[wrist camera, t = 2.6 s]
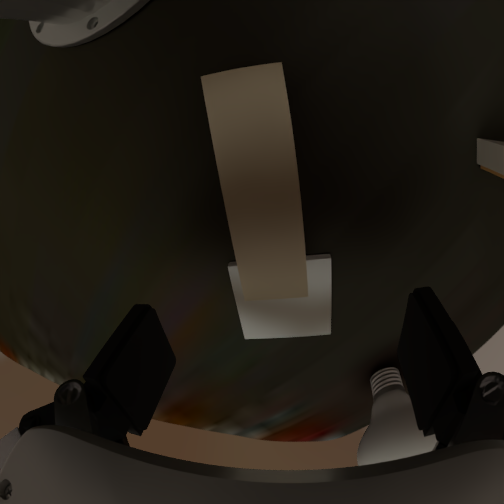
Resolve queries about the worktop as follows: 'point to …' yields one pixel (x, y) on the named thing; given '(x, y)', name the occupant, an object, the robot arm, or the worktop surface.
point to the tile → (491, 156)
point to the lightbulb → (391, 423)
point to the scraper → (265, 206)
